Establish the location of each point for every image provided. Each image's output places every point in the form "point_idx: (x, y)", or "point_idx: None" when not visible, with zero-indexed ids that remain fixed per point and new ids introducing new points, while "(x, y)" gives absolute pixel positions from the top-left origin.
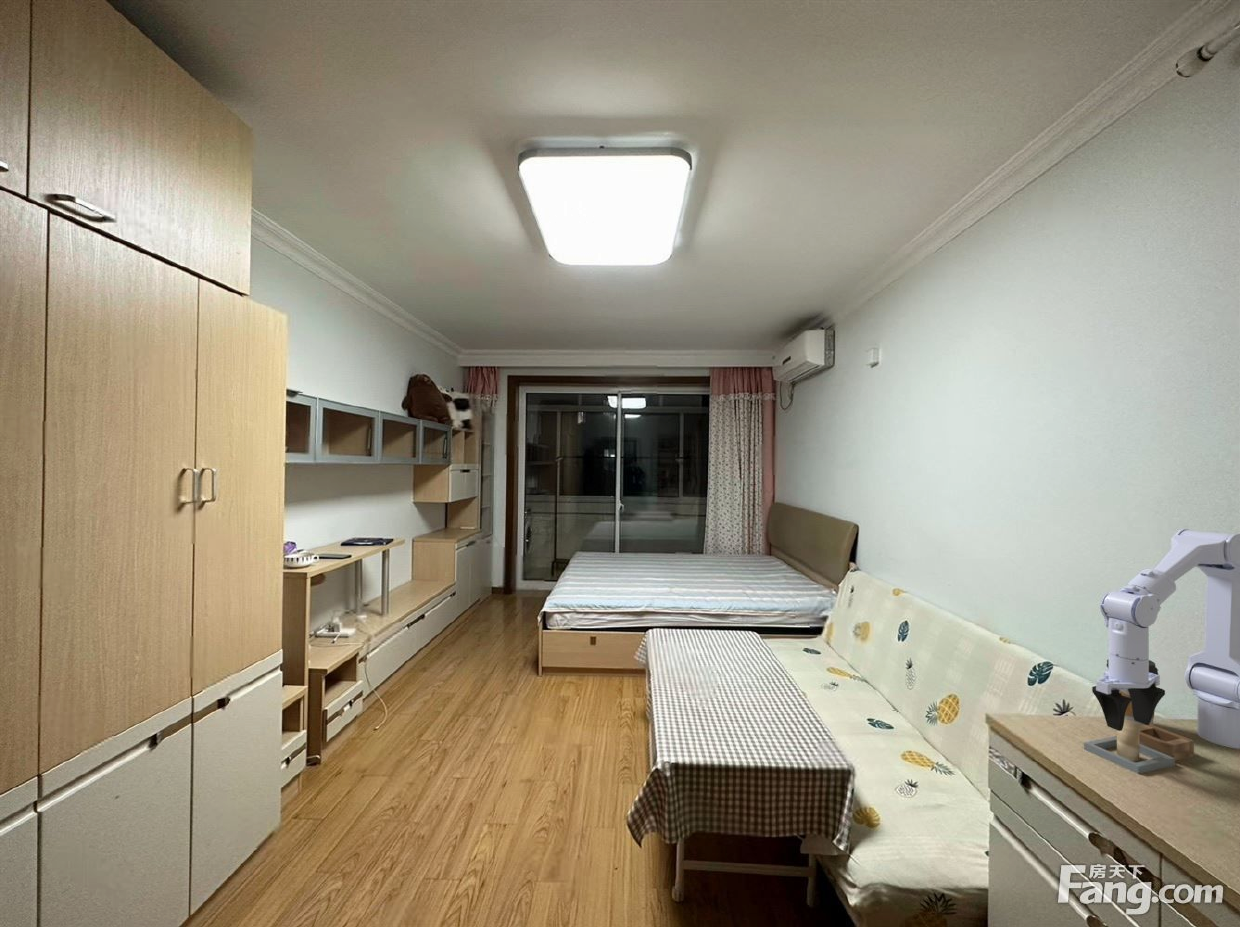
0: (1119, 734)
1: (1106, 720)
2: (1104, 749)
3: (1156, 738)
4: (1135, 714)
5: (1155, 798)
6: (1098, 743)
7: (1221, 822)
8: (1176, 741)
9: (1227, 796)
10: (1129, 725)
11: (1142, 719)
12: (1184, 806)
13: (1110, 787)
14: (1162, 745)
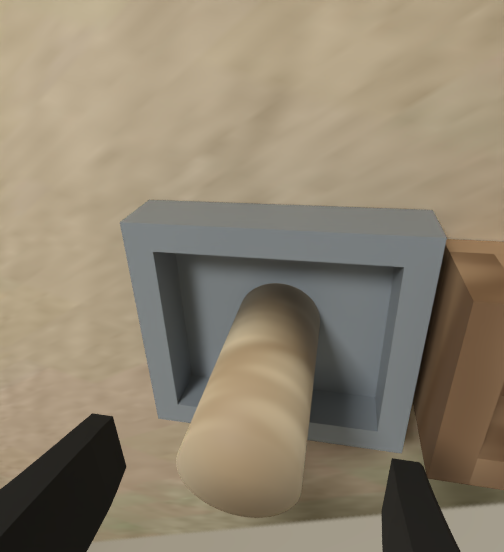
0: (203, 392)
1: (62, 443)
2: (158, 302)
3: (482, 426)
4: (395, 516)
5: (121, 437)
6: (195, 253)
7: (178, 523)
8: None
9: (351, 513)
10: (211, 489)
11: (386, 526)
12: (162, 477)
13: (38, 367)
14: (431, 444)
